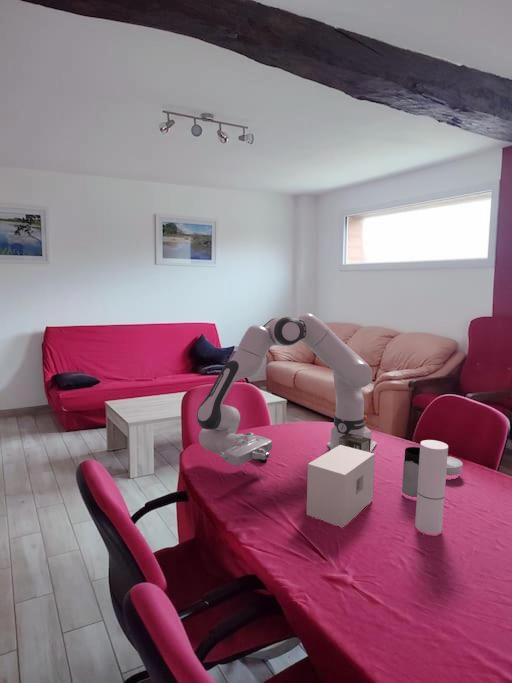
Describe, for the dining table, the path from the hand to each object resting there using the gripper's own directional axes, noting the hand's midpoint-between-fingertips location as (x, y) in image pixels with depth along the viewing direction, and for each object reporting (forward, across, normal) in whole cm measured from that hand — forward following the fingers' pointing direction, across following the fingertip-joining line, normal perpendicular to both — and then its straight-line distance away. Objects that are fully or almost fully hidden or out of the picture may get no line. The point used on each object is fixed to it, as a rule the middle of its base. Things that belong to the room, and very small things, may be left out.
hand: (267, 456), depth 157 cm
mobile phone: (-18, +16, +10) cm, 26 cm away
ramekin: (+46, +46, +10) cm, 66 cm away
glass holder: (+43, +26, +10) cm, 51 cm away
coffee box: (+23, +19, +10) cm, 31 cm away
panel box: (+28, 0, +9) cm, 30 cm away
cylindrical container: (+53, +5, +10) cm, 54 cm away
